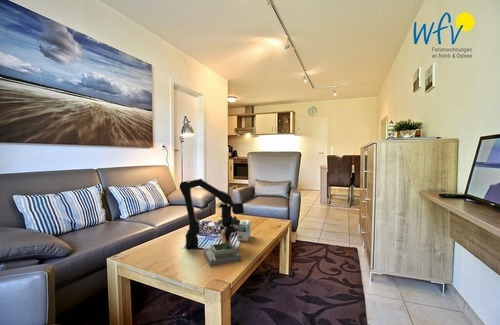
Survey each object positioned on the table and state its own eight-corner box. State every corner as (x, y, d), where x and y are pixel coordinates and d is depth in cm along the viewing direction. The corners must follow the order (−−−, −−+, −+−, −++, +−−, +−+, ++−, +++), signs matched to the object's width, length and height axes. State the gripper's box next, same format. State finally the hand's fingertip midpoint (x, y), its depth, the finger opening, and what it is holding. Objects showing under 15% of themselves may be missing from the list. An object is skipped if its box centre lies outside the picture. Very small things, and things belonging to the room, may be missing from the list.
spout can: (223, 247, 139) (223, 231, 138) (220, 243, 144) (220, 228, 144) (234, 245, 141) (234, 229, 141) (232, 242, 147) (232, 227, 146)
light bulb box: (247, 241, 148) (247, 224, 148) (236, 240, 150) (236, 223, 149) (250, 235, 159) (250, 219, 158) (240, 235, 160) (240, 219, 160)
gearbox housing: (210, 266, 115) (210, 255, 115) (203, 253, 130) (203, 243, 130) (240, 260, 121) (240, 250, 121) (231, 248, 136) (231, 239, 136)
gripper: (244, 216, 136) (244, 243, 137) (234, 209, 153) (234, 233, 154) (225, 218, 132) (225, 246, 132) (217, 211, 149) (217, 235, 150)
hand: (226, 239), depth 142 cm, fingers closed on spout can, 5 cm apart
